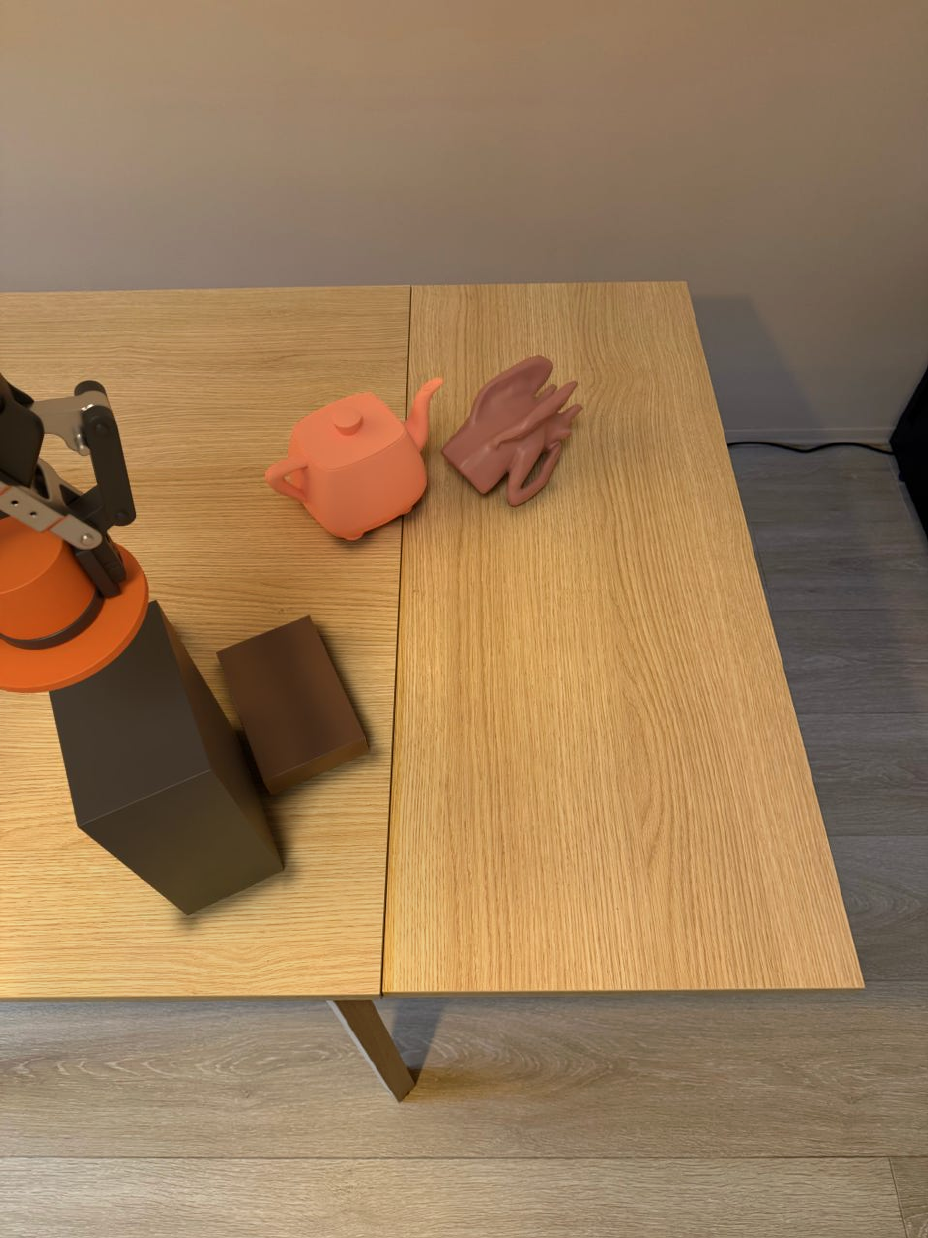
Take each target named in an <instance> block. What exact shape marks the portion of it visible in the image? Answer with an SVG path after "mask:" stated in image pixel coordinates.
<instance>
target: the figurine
mask: <svg viewBox="0 0 928 1238" xmlns="http://www.w3.org/2000/svg"><path fill="white" fill-rule="evenodd" d="M553 369H554V364H553V361H551V360H550V359H549V358H547V357H545V356H543V355H541V354H536V355H533V356H529V357H527V358H524V359H523V360H521V361H520V362H517V363H516V364H514V365H512V366H511V367H509V368H507V369H505V370H503V371H502V372H500V373H499V374H497V375H496V376H495V377H494V378H492V379H490V380H489V381H488V382H486V383H485V384H484V385H483V386H482V387H481V388H480V389H479V390H478V392H477V394H476V396H475V398H474V400H473V403H472V404H471V405H472V406H471V409H470V413H469V416H468V417H466V421H465V422H463V424H462V425H461V426H460V427H459V428H458V429H457V431H456V432H455V433H454V434H453V435H451V436H450V437H449V438H448V440H447V441H446V442H445V444H444V445H443V446H442V447H441V448H440V449H439V452H440V455H441V456H442V458H444V459H445V460H446V461H447V462H448V463H450V464H451V466H453V467H454V468H455V469H456V470H457V471H458V472H459V473H460V474H461V475H462V476H463V477H465V479H467V480H468V481H469V483H471V484H472V485H473V487H474V488H475V489H476V490H477V491H478V492H479V493H480V494H482V495H484V494H487V493H488V492H489V491H490V490H491V489H493V488H494V487H495V486H496V485H497V483H499V481H500V480H502V478H503V477H504V476H505V475H506V474H507V473H508V478H507V482H506V500H507V503H508V504H509V505H510V506H513V507H516V506H519V505H521V504H523V503H525V502H526V501H528V500H530V499H531V498H533V496H535V495H536V494H537V493H538V492H539V491H541V490H542V489H543V488H544V487H545V486H547V484H548V483H549V478H550V476H551V474H552V472H553V470H554V468H555V466H556V463H557V462H558V460H559V458H560V455H561V452H562V446H561V442H560V440H562V439H564V438H567V437H570V436H571V435H572V434H573V429H571V428H570V427H571V425H572V422H573V421H574V420H575V418H576V417H577V415H578V414H579V413H580V412H581V411H582V409H583V406H582V405H581V404H579V403H575V404H573V405H571V406H569V407H568V408H567V409H565V410H563V411H562V412H560V411H561V410H562V409H563V408H564V407H565V405H566V404H567V403H568V402H569V400H570V398H571V396H572V395H573V394H574V392H575V390H576V388H578V385H579V382H578V381H577V380H572V381H569V382H567V383H565V384H564V385H562V386H561V387H560V388H559V389H558V390H557V388H558V386H557V384H555V383H551V384H550V385H548V387H547V388H545V389H544V390H543V391H542V392H541V393H540V395H538V396H535V395H537V393H538V392H539V391H540V390H541V389H542V388H543V387H544V386H545V384H546V383H547V382H548V380H549V379H550V377H551V375H552V373H553ZM546 453H548V454H547V456H546V458H545V460H544V462H543V463H542V465H541V467H540V470H539V472H538V474H537V475H536V476H535V478H533V480H532V481H530V483H528V484H526V485H525V486H524V487H523V488H522V485H523V483H524V482H525V480H526V478H527V477H528V475H529V474H530V473H531V471H532V469H533V467H534V465H535V463H536V462H537V461H538V458H539V457H540V455H541V454H546Z"/></svg>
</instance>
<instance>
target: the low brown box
mask: <svg viewBox="0 0 928 1238" xmlns="http://www.w3.org/2000/svg"><path fill="white" fill-rule="evenodd" d="M215 654H216V657H217V659H218V662H219V665H220V667H221V670H222V673H223V676H224V678H225V682H226V684H227V688H228V690H229V692H230V695H231V698H232V701H233V703H234V707H235V709H236V712H237V714H238V717H239V720H240V723H241V725H242V728H243V732H244V734H245V736H246V740H247V742H248V746H249V748H250V751H251V754H252V757H253V759H254V761H255V765H256V767H257V771H258V774H259V776H260V779H261V781H262V783H263V785H264V787H265V788H266V790H267V791H268V793H269V795H270V796H274V795H276V794H279V793H281V792H283V791H286V790H287V789H290V788H292V787H294V786H296V785H299V784H301V783H303V782H305V781H308V780H310V779H312V778H315V777H317V776H319V775H322V774H324V773H325V772H328V771H330V770H333V769H334V768H337V767H340V766H342V765H343V764H345V763H348V762H350V761H353V760H355V759H357V758H359V757H362V756H364V755H366V754H369V753H370V748H369V745H368V742H367V738H366V736H365V733H364V731H363V729H362V727H361V725H360V722H359V720H358V718H357V716H356V714H355V712H354V709H353V707H352V705H351V702H350V701H349V698H348V696H347V694H346V692H345V690H344V687H343V685H342V683H341V680H340V679H339V676H338V674H337V671H336V669H335V667H334V665H333V663H332V661H331V658H330V656H329V654H328V652H327V649H326V647H325V646H324V643H323V640H322V639H321V637H320V634H319V632H318V630H317V627H316V626H315V624H314V621H313V619H312V617H311V615H310V614H307V615H305V616H302V617H300V618H297V619H294V620H292V621H290V622H288V623H284V624H282V625H279V626H277V627H275V628H271V629H269V630H267V631H265V632H262V633H260V634H257V635H254V636H252V637H249V638H247V639H245V640H242V641H239V642H237V643H235V644H232V645H229V646H227V647H224V648H222V649H219V650H217V651H215Z"/></svg>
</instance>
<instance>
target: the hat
mask: <svg viewBox="0 0 928 1238" xmlns="http://www.w3.org/2000/svg"><path fill="white" fill-rule="evenodd" d="M113 542H114V543H115V545H116V547H117V548H118V550H119V551H120V554H121V557H122V560H123V564H124V567H125V570H126V581H123V582H121V583H118V584H119V588H120V591H121V594H118V595H116V596H113V597H110V598H108V599H106V598H105V597H104V596H103V594H102V593H101V591H100V590H99V589H98V587H97V586H96V584H95V583H94V582H93V580H92V579H91V577H90V576H89V574H88V573H87V572H86V570H85V569H84V567H83V566H82V564H81V563H80V562H79V560H78V559H77V557H76V556H75V553H74V549H73V545H72V544H70V543H68V542H67V541H65V540H63V539H62V538H60V537H58V536H56V535H55V534H53V533H51V532H50V531H46V532H44V533H40V532H38V531H36V530H34V529H32V528H31V527H29V526H27V525H26V524H24V523H22V522H20V521H19V520H17V519H15V518H13V517H12V516H10V517H7V518H4V519H1V520H0V690H1V691H3V692H4V691H5V692H8V693H16V694H17V693H18V694H40V693H47V692H48V693H49V691H52V690H57V689H61V688H64V687H67V686H70V685H73V684H75V683H77V682H79V681H82V680H84V679H86V678H88V677H90V676H91V675H93V674H95V673H97V672H98V671H100V670H101V669H102V668H104V667H105V666H107V665H108V664H109V663H111V662H112V661H113V660H114V659H115V658H116V657H118V656H119V655H120V654H121V653H122V652H123V650H124V649H125V648H126V647H127V646H128V645H129V644H130V642H131V641H132V640H133V638H134V637H135V635H136V634H137V632H138V630H139V629H140V627H141V625H142V622H143V620H144V618H145V615H146V611H147V608H148V602H150V601H149V600H150V599H149V598H150V590H149V589H150V587H149V584H148V583H149V582H148V578H147V575H146V574H145V572H144V569H143V568H142V566H141V564H140V563H139V561H138V560H137V558H136V556H134V554H132V553H131V552H130V551H129V550H128V549H127V548H126V547H124V546H123V545H121V544H119V543H117V542H115V541H113Z"/></svg>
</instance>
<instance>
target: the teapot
mask: <svg viewBox="0 0 928 1238" xmlns="http://www.w3.org/2000/svg"><path fill="white" fill-rule="evenodd" d="M443 381H444V379H443V378H442V377H441V376H440V377H435V378H433V379H431V380H429V381H427V382H425V384H423V385H422V386H421V387H420V388H419V390H418V391H417V393H416V395H415V397H414V399H413V403H412V407H411V410H410V413H409V415H408V417H407V418H406V420H405V421H404V422H402V420H400V419H399V417H398V416H397V415H396V413H394V411H393V410H392V409H391V408H390V407H389V406H388V405H387V404H386V403H385V402H384V401H383V400H381V398H379V397H378V396H377V395H375V394H374V393H372V392H361V393H357V394H353V395H350V396H347V397H343V398H341V399H338V400H336V401H334V402H331V403H328V404H326V405H324V406H322V407H319V409H316V410H315V411H313V412H311V413H310V414H308V415H306V416H304V417H303V418H302V419H300V420H299V421H298V422H297V423H295V424H294V425H293V427H292V429H291V432H290V437H289V443H288V449H287V457H286V458H284V459H282V460H280V461H277V462H275V463H274V464H272V465H271V466H269V467H267V469H266V471H265V473H264V480H265V482H266V484H267V485H268V486H269V487H270V488H271V489H272V490H273V491H275V492H276V493H278V494H280V495H282V496H285V497H288V498H291V499H293V500H296V501H299V502H301V504H302V505H303V506H304V508H305V509H306V510H307V512H309V514H310V515H311V517H313V518H314V519H315V520H316V522H317V523H318V524H319V525H320V526H321V527H322V528H323V529H324V530H326V532H328V533H329V534H331V535H333V536H334V537H337V538H344V539H345V540H348V541H355V540H359V539H360V538H361V537H363V535H364V534H365V533H366V532H368V531H371V530H374V529H375V528H378V527H381V526H383V525H385V524H387V523H389V522H391V521H392V520H394V519H396V518H397V517H399V516H403V515H407V514H408V513H410V512H411V510H412V509H413V505H415V504H416V503H417V502H418V501H419V500H420V498H421V497H422V496H423V494H424V492H425V490H426V488H427V484H428V476H427V475H428V474H427V470H426V466H425V463H424V459H423V456H422V454H421V452H422V451H423V449H424V447H425V446H426V443H427V441H428V438H429V432H430V418H429V417H430V405H431V401H432V398H433V396H434V394H435V393H436V392H437V390H438V389H439V388H440V387H441V386H442V384H443ZM288 475H289V479H290V482H289V481H288V480H287V479H286V477H287V476H288Z"/></svg>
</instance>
